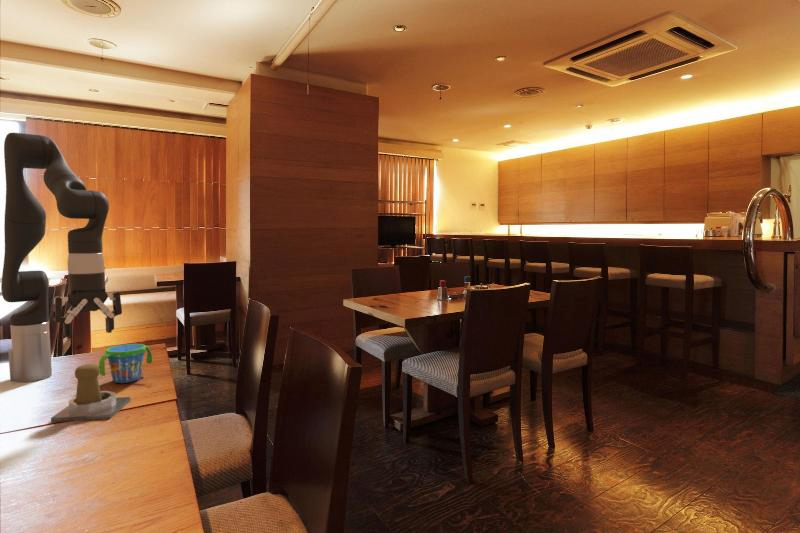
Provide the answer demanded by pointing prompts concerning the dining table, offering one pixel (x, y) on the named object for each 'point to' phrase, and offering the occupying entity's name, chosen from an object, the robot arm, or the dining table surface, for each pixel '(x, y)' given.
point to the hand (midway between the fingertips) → (89, 335)
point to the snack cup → (125, 362)
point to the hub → (92, 408)
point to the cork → (88, 384)
